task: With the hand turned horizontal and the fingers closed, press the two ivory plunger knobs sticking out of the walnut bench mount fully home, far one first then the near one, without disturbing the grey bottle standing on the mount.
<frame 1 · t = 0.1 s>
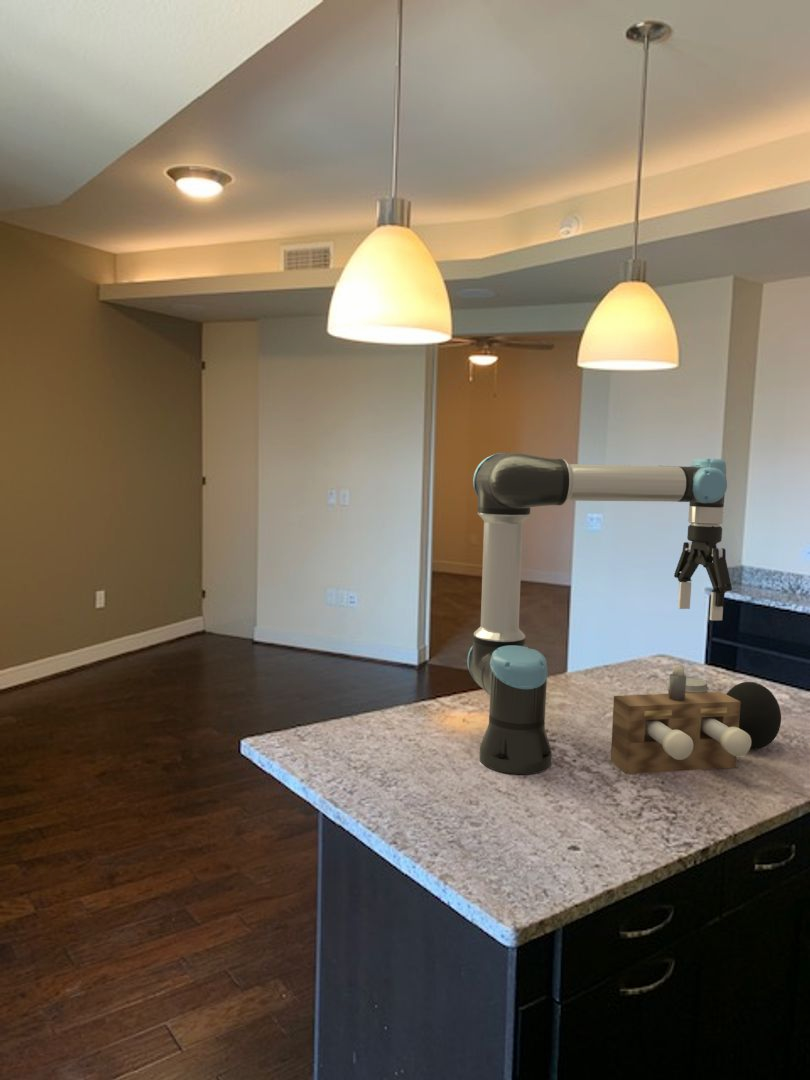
hand: (699, 614, 184), 28 cm above the worktop, tool pointing down, fingers open, 13 cm apart
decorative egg: (748, 748, 175), on the worktop
disposable coffee cup: (684, 730, 187), on the worktop
knob far: (716, 730, 160), point 9 cm above the worktop, slide at 0.0 cm
knob near: (660, 732, 158), point 9 cm above the worktop, slide at 0.0 cm
mount: (672, 764, 165), on the worktop
grey bottle: (676, 698, 163), point 14 cm above the worktop, touching mount
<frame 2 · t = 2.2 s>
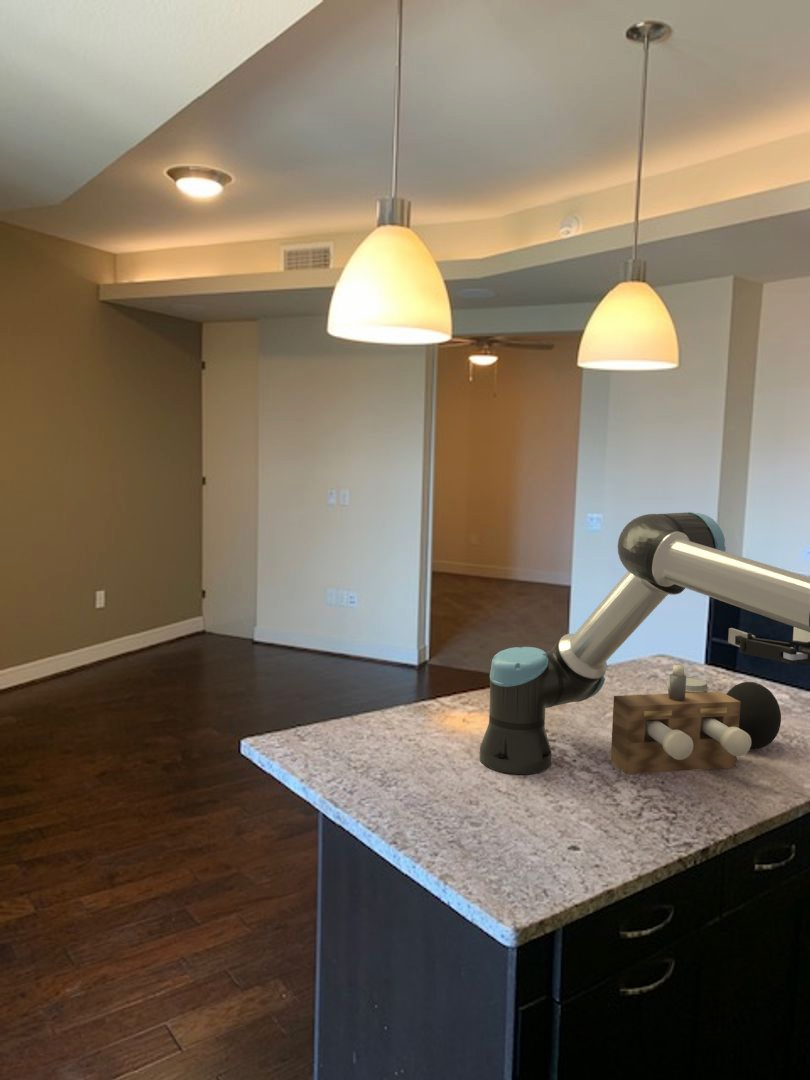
hand: (762, 634, 144), 32 cm above the worktop, tool horizontal, fingers open, 13 cm apart
nothing on the worktop moved.
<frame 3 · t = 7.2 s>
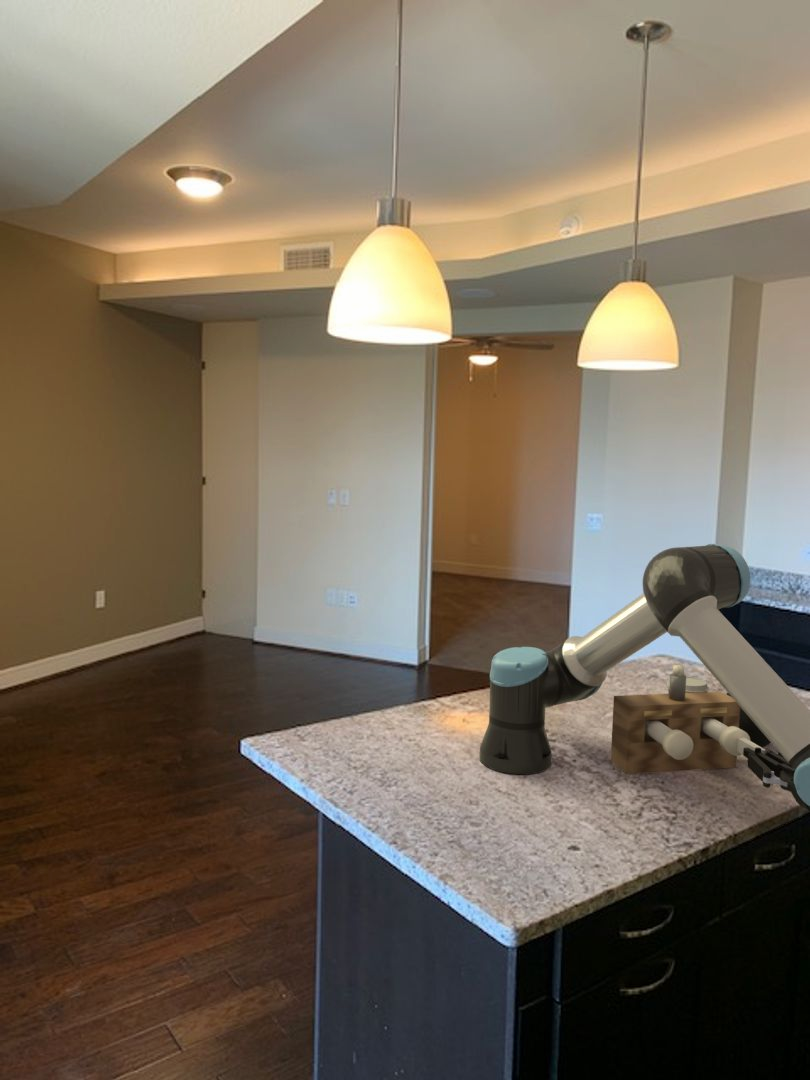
hand: (740, 744, 153), 9 cm above the worktop, tool horizontal, fingers closed
knob far: (715, 729, 160), point 9 cm above the worktop, slide at 0.3 cm, touching gripper
everything else where it was.
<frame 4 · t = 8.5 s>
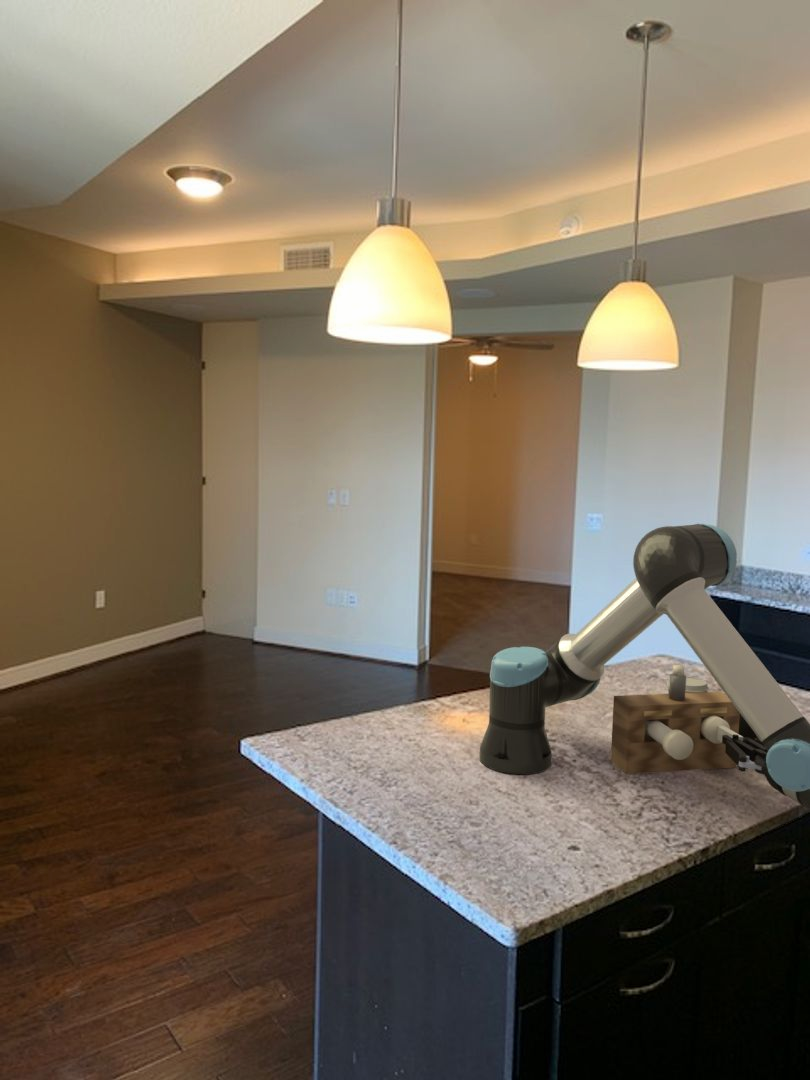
hand: (720, 732, 159), 9 cm above the worktop, tool horizontal, fingers closed
knob far: (697, 718, 167), point 9 cm above the worktop, slide at 7.0 cm, touching gripper, mount
everything else where it was.
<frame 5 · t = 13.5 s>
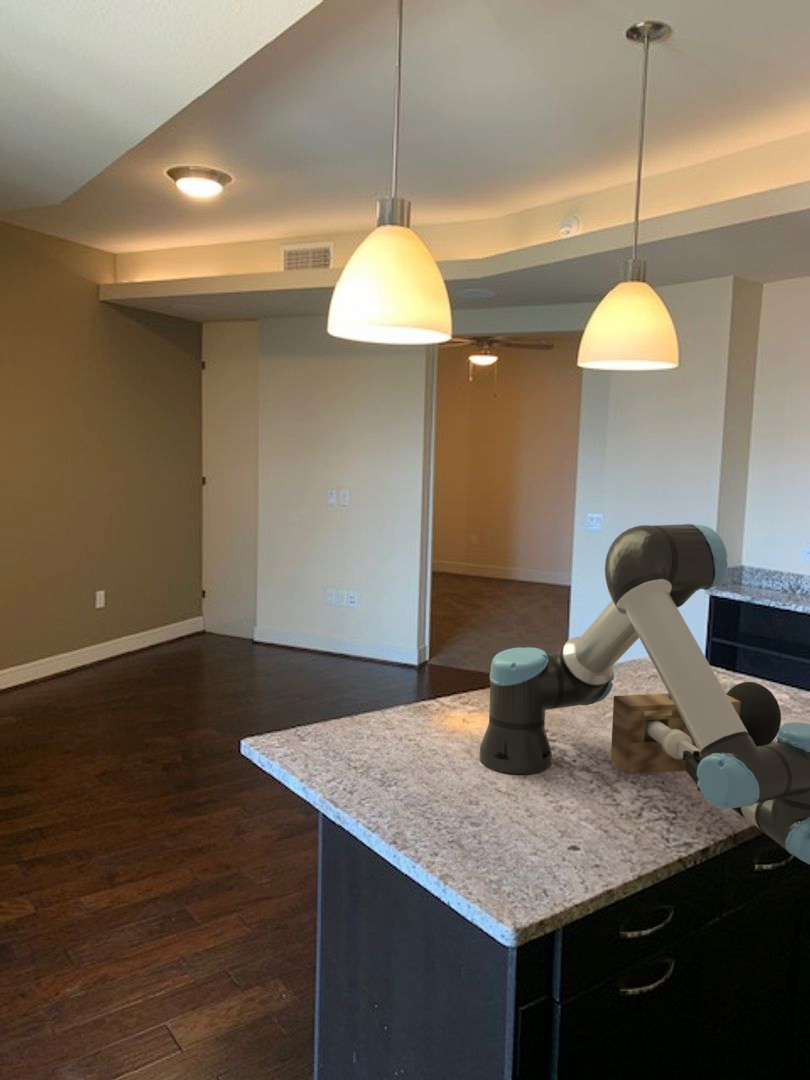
hand: (681, 747, 150), 9 cm above the worktop, tool horizontal, fingers closed
knob far: (698, 719, 167), point 9 cm above the worktop, slide at 6.9 cm
knob near: (659, 732, 158), point 9 cm above the worktop, slide at 0.4 cm, touching gripper
everything else where it was.
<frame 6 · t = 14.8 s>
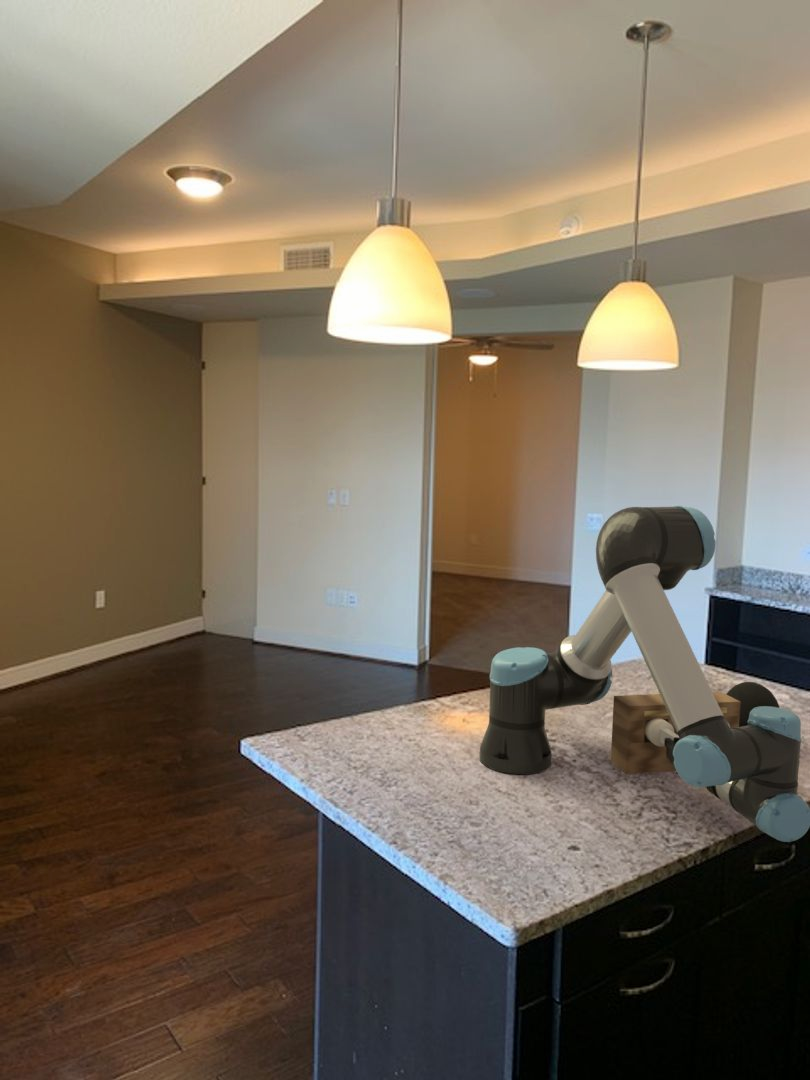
hand: (663, 735, 157), 9 cm above the worktop, tool horizontal, fingers closed
knob near: (643, 721, 164), point 9 cm above the worktop, slide at 7.0 cm, touching gripper, mount
everything else where it was.
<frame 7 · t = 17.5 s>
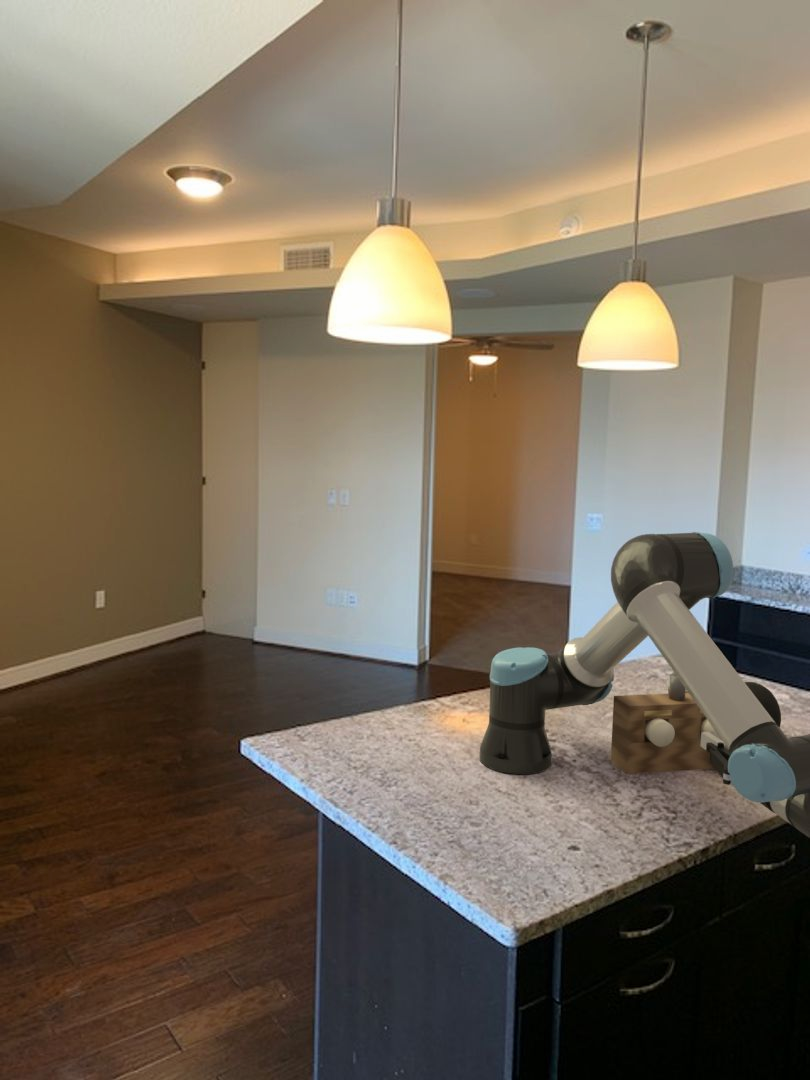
hand: (704, 739, 145), 12 cm above the worktop, tool horizontal, fingers closed
knob near: (644, 721, 164), point 9 cm above the worktop, slide at 6.9 cm
everything else where it was.
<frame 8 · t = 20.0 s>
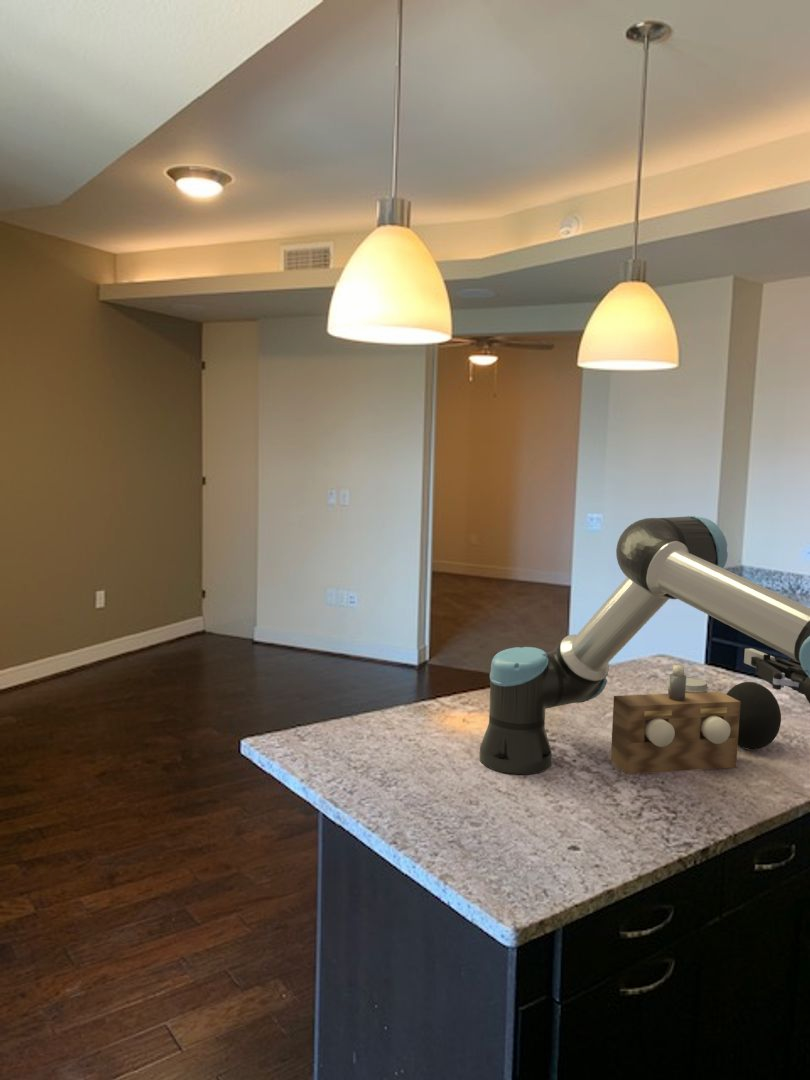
hand: (748, 655, 145), 28 cm above the worktop, tool horizontal, fingers closed
nothing on the worktop moved.
at the end: knob near slide at 6.9 cm; knob far slide at 6.9 cm; grey bottle tilted 0° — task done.
